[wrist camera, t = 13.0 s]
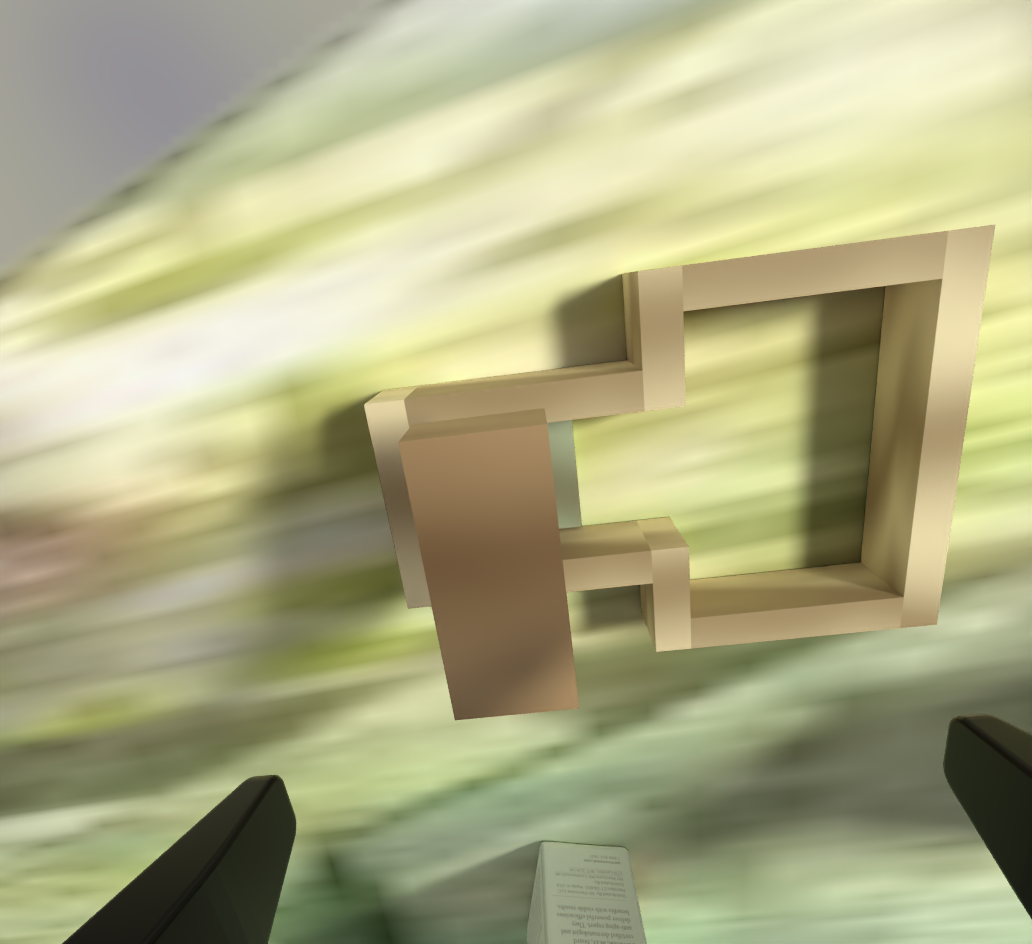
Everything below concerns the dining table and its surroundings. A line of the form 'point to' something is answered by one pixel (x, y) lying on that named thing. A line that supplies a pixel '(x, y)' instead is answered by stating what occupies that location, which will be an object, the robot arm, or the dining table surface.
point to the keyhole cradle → (661, 385)
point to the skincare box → (584, 896)
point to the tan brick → (493, 561)
